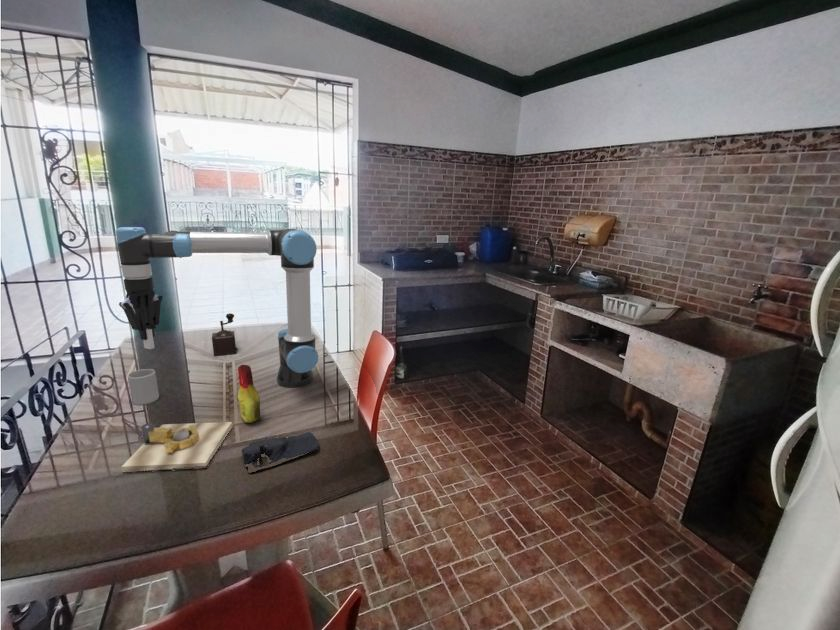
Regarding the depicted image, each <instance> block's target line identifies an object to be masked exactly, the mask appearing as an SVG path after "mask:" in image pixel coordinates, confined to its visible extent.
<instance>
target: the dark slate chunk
mask: <svg viewBox="0 0 840 630" xmlns="http://www.w3.org/2000/svg"><path fill="white" fill-rule="evenodd" d="M297 435H298V436H297ZM297 435H290V436H281V437H274V438H269V439H263V440H259V441H254V442H250V443H249V444H248V445H249V446H248V445H247V446H245V447H243V448H242V449H241V454H242V461H243V460H244V462H243V465H244V464H245V465H246V464H250V463H252V462H253V463H252V465H253V466H254V467H255V468H257V467H262V466H265V465H266V464H263V465H262V464H260V465H261V466H260V465H257V461H258V460H257V459H258V458H260V457H261V454H264V453H265V455H267V456H268V457H269V459H270V460H272V461H271V462H270V463H269V464H271V463H273V462H276V461H278V460H279V459H282V458H287V459H288V458H292V457H295V456H298V455H301V454H305V453H307V452H311V453H313V452H315V451H314V450H316V449H318V450H319V448H318V447H320V444H319V440H318V439H317V437H316V436H314V434H313V433H312V432H310V431H308V432H305V433H300V434H297ZM286 437H288V438H286ZM312 451H313V452H312ZM316 451H317V450H316ZM260 459H261V458H260Z"/></svg>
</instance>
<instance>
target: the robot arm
mask: <svg viewBox="0 0 840 630" xmlns="http://www.w3.org/2000/svg"><path fill="white" fill-rule="evenodd" d="M115 235H116V236H115V237H116V245H117V251H118V256H119V260H120V267H121V273H122V277H123V278H124V279H123V285H124V289H125V291H126V296H125V298H126V299H125V300H123V301H121V302H119V303H118V306H119V307H120V308H121V309H122V310H123V312H124V313H125V316H126V319H127V320H128V323H129V325H130V327H131V329H132V330H136V331H139V332H138V333H139V336H140V340H142V342H143V348H144V349H147V350H153V349H156V348H155V341H154V338H155V329H156V328H157V326H158V325H159V324H160V318H161V317H160V316H161V315H160V313H161V303H162V300H163V295H160V294H159V295H158V294H156V292H155V291H154V289H155V285H154V279H153V277H152V276H153V271H152V270H153V269H152V265H151V264H152V263H151V259H158V258H159V259H160V258H161V259H163V258H164V259H165V258H167V259H168V258H175V259H176V258H180V259H182V258H189V257H192V256H193V254H267V255H269V256H278V257H280V266H281V267H280V268H282V269H283V271H285V284H286V285H285V286H286V288H285V289H286V309H287V310H286V312H287V314H286V316H287V328H285V329H282V330H280V331H278V334H277V335H278V336H277V339H278V349H279V350H278V351H279V354H278V355H279V368H278V372H277V376H276V383H277V384H278V385H279V386H280V387H283V388H299V387H304V386H307V385H309V384H311V383H312V382H313V381H314V372H313V369H314V368H315V367H316V365H317V364H318V362H319V354H318V353H319V352H318V350H317V349H316V335H315V334H314V333H313V332H312V317H311V316H312V315H311V314H312V313H311V312H312V311H311V310H312V309H311V306H312V305H311V272H312V270H314V268H315V263H314V262H315V257H316V254H317V249H318V248H317V243H316V241H315V240H314V238H313V236H312V235H310V234H309V233H308V232H306V231H304V230H301V229H297V228H285V229H276V230H275V229H274V230H272V229H270V230H269V229H268V230H266V231H265V232H245V231H243V232H239V231H238V232H237V231H236V232H234V231H233V232H232V231H231V232H230V231H229V232H228V231H179V230H169V231H166V232H164V233H147V232H146V229H145V228H144V227H141V226H139V227H138V226H122V227H118V228H116V230H115Z"/></svg>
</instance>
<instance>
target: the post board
mask: <svg viewBox="0 0 840 630" xmlns="http://www.w3.org/2000/svg"><path fill="white" fill-rule="evenodd" d="M190 425H195V426H196V430H197V431H198V433H199V439H198V440H197V441H196V442H195V443H194V444H193V445H192V446H189V447H186V448H183V449H179V450H175V451H174V452H172V453H166V446H165V444H164V443H144V442H143V444H142V445H141V446H140V447H138V449H137V450H136V451H135V452H134V453H133V454H132V455H131V456H130V457H129V458H128V459H127V460H126V461H125V462H124V463H123V464H122V465H121V471H122V473H123V472H132V471H143V470H144V471H145V470H147V471H148V470H160V469H173V468H184V467H195V466H206V465H207V464H208V462H209V461H210V459H211V458H212V456H213V455H214V453H215V452H216V451H217V449H218V448H219V446H220V445H221V443H222V442H223V440H224V439H225V437H226V436H227V437H228V435H229V434H230V432H231V431H230V430H232V429H231V428H233V426H234V425H233V421H226V422H225V421H224V422H222V421H221V422H197V423H195V422H194V423H189V422H188V423H168V424H165V423H164V424H161V425H160V426H159V427H158V428H172V431H175V430H178V429H181V428H188V427H189V426H190ZM229 431H230V432H229ZM228 433H229V434H228ZM227 434H228V435H227ZM173 437H174V440H173V441H181V440H184V439H187V438H189V437H190V436H189V432H188V430H180V431H177V432H175V433H174V434H173ZM227 437H226V438H227ZM225 440H226V439H225ZM225 440H224V441H225ZM223 443H224V442H223ZM223 443H222V444H223ZM221 446H222V445H221ZM221 446H220V447H221ZM219 449H220V448H219ZM217 452H218V451H217ZM132 473H133V472H132Z"/></svg>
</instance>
